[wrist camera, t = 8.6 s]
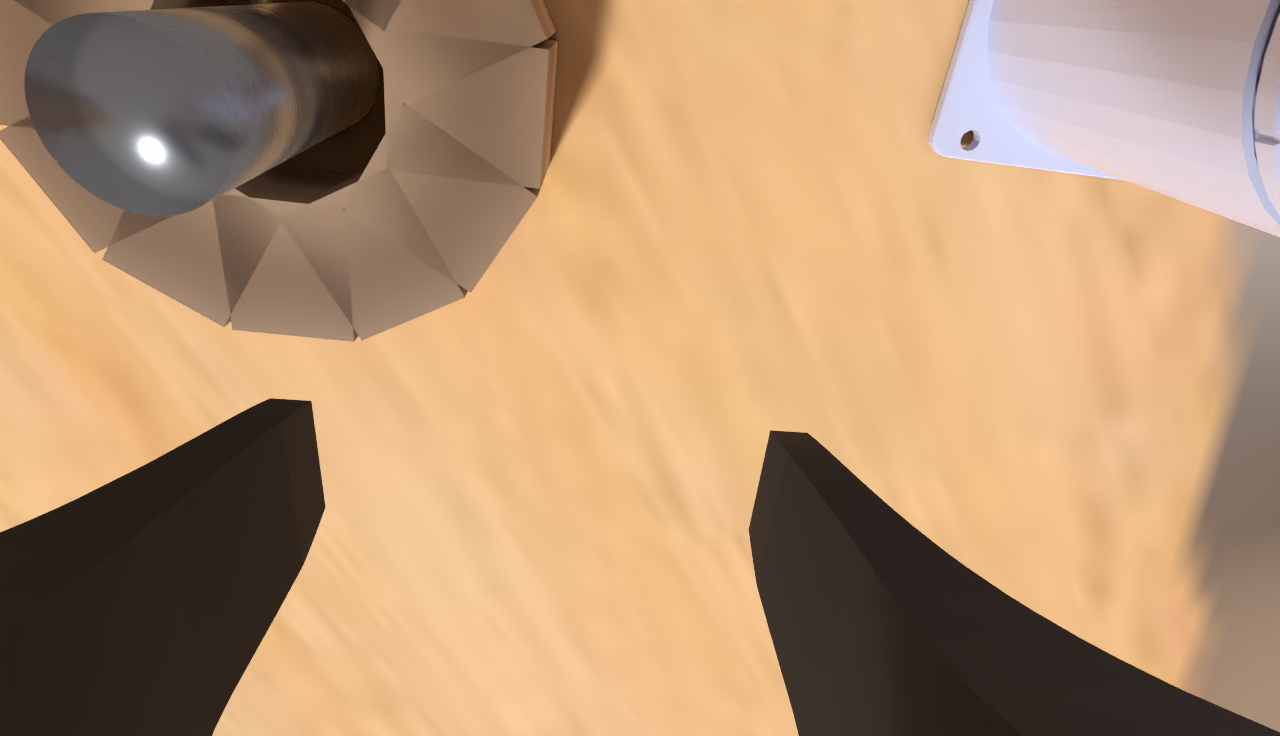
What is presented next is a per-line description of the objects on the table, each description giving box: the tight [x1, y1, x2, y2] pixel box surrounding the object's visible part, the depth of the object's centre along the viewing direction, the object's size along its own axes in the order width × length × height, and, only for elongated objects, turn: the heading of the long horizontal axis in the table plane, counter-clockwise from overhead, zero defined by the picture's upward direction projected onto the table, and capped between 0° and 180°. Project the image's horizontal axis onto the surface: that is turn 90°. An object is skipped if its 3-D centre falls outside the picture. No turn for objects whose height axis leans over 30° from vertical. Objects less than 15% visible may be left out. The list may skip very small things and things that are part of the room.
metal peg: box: [24, 2, 379, 216], centre depth 15 cm, size 3×3×8 cm
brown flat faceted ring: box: [0, 0, 558, 342], centre depth 17 cm, size 12×12×3 cm
